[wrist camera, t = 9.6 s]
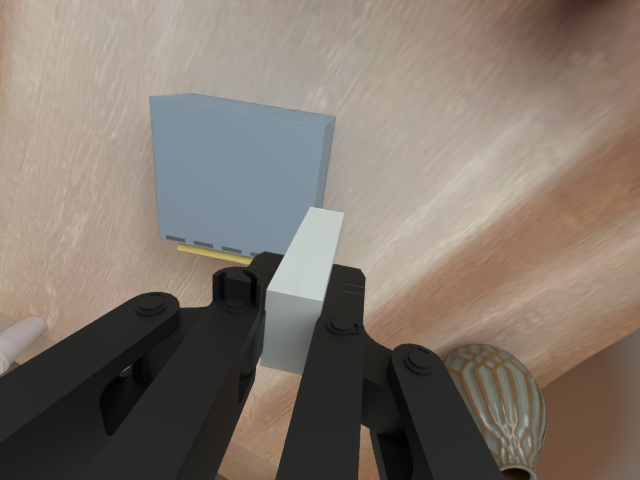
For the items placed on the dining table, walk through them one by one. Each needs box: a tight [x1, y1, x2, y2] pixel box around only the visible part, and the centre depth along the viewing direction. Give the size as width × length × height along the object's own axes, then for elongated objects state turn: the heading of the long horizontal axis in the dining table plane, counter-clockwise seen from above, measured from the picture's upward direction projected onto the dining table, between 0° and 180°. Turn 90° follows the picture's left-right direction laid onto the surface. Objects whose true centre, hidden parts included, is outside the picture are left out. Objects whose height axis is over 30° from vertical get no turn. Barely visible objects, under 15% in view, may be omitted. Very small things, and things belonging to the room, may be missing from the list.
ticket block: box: [149, 93, 335, 257], centre depth 41 cm, size 16×18×9 cm
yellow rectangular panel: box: [177, 243, 254, 266], centre depth 46 cm, size 10×14×1 cm
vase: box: [443, 344, 547, 480], centre depth 45 cm, size 13×13×18 cm
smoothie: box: [0, 316, 47, 374], centre depth 58 cm, size 6×6×14 cm
